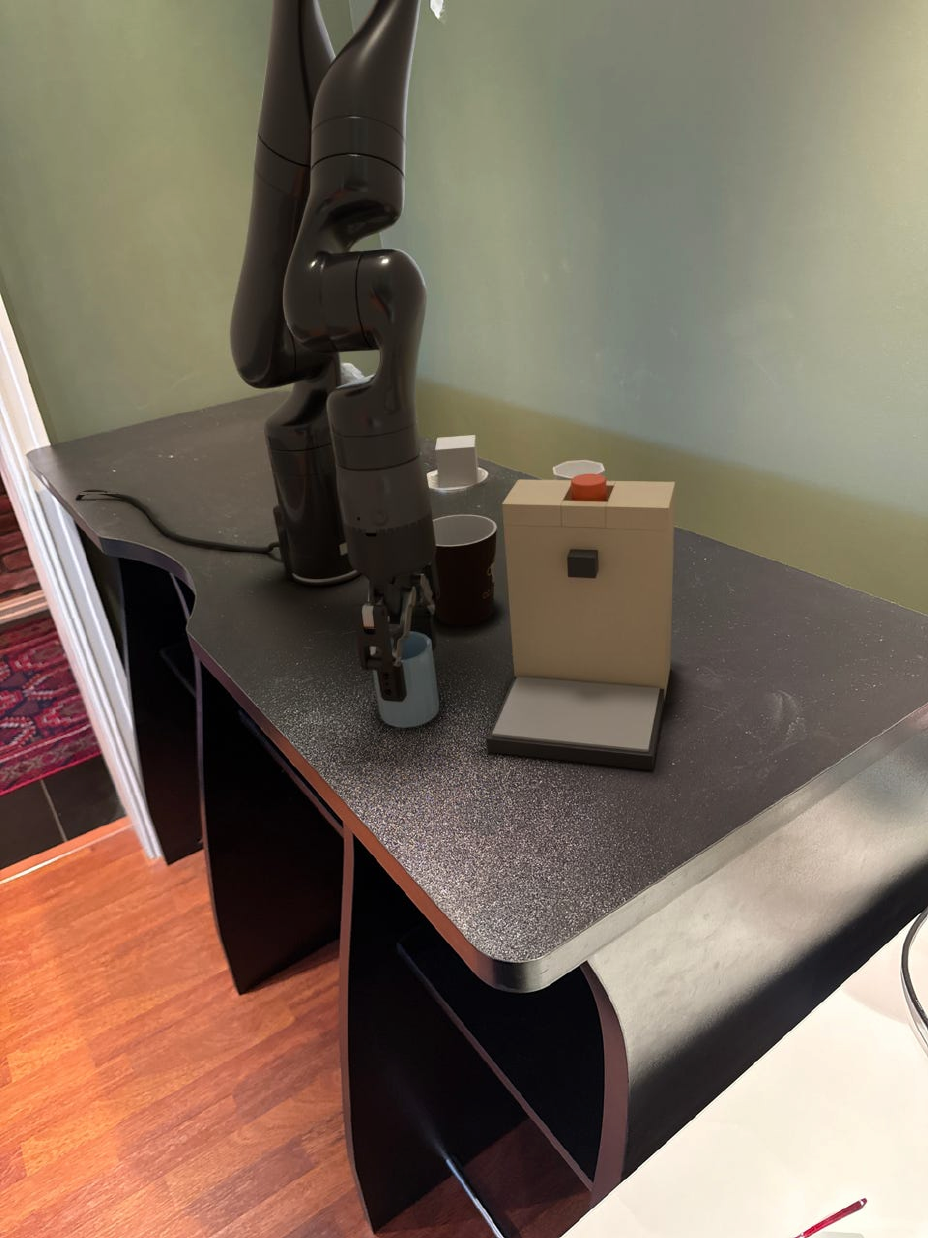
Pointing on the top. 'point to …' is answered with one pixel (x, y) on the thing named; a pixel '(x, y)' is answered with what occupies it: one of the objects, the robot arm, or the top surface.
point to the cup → (577, 469)
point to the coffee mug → (465, 568)
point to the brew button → (589, 488)
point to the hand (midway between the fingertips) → (410, 673)
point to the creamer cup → (413, 685)
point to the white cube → (456, 461)
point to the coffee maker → (587, 622)
